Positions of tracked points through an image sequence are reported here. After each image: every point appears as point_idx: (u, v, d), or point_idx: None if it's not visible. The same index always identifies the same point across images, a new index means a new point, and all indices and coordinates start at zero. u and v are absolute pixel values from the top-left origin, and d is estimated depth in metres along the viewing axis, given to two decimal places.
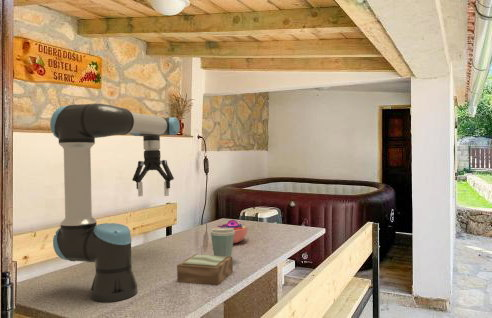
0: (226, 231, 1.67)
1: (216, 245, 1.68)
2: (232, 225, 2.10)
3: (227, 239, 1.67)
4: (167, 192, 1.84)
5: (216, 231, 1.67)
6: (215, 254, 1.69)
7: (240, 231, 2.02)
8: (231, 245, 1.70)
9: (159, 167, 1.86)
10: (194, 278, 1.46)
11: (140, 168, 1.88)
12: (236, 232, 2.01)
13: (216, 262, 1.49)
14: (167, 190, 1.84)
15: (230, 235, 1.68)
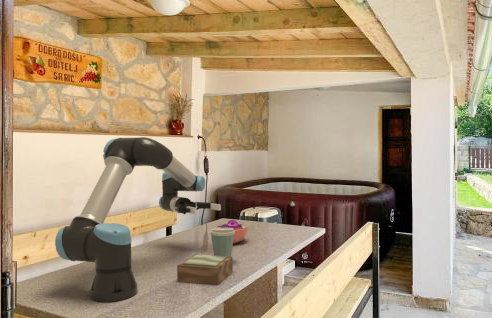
0: (226, 231, 1.67)
1: (216, 245, 1.68)
2: (232, 225, 2.10)
3: (227, 239, 1.67)
4: None
5: (216, 231, 1.67)
6: (215, 254, 1.69)
7: (240, 231, 2.02)
8: (231, 245, 1.70)
9: (196, 208, 1.90)
10: (194, 278, 1.46)
11: None
12: (236, 232, 2.01)
13: (216, 262, 1.49)
14: None
15: (230, 235, 1.68)
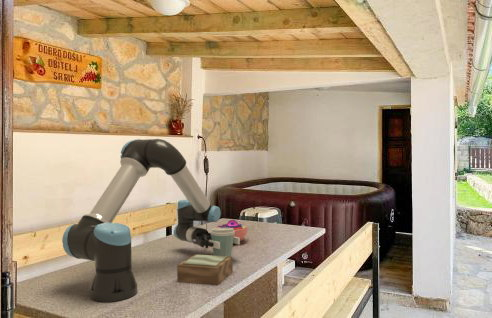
0: (226, 231, 1.67)
1: None
2: (232, 225, 2.10)
3: (227, 239, 1.67)
4: None
5: (216, 231, 1.67)
6: (215, 254, 1.69)
7: (240, 231, 2.02)
8: (231, 245, 1.69)
9: None
10: (194, 278, 1.46)
11: None
12: (236, 232, 2.01)
13: (216, 262, 1.49)
14: None
15: (230, 235, 1.68)
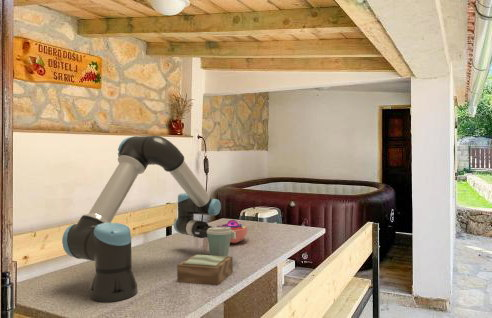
0: (225, 230, 1.64)
1: (215, 244, 1.63)
2: (232, 225, 2.10)
3: (226, 238, 1.64)
4: None
5: (215, 230, 1.63)
6: (213, 254, 1.64)
7: (240, 231, 2.02)
8: (229, 244, 1.67)
9: None
10: (194, 278, 1.46)
11: None
12: (236, 232, 2.01)
13: (216, 262, 1.49)
14: None
15: (229, 234, 1.65)
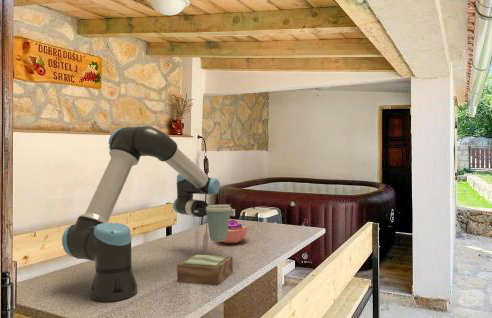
0: (224, 207, 1.63)
1: (214, 221, 1.63)
2: (232, 225, 2.10)
3: (225, 215, 1.64)
4: None
5: (214, 207, 1.63)
6: (212, 231, 1.64)
7: (240, 231, 2.02)
8: (228, 221, 1.66)
9: None
10: (194, 278, 1.46)
11: None
12: (236, 232, 2.01)
13: (216, 262, 1.49)
14: None
15: (228, 211, 1.64)
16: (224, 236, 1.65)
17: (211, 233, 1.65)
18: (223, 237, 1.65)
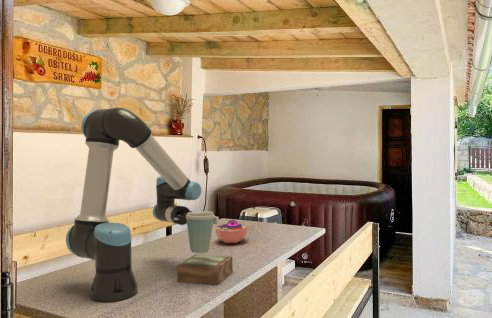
0: (206, 214, 1.45)
1: (195, 231, 1.45)
2: (232, 225, 2.10)
3: (207, 223, 1.46)
4: None
5: (195, 214, 1.45)
6: (192, 241, 1.46)
7: (240, 231, 2.02)
8: (211, 230, 1.48)
9: None
10: (194, 278, 1.46)
11: None
12: (236, 232, 2.01)
13: (216, 262, 1.49)
14: None
15: (210, 219, 1.46)
16: (206, 247, 1.47)
17: (191, 244, 1.46)
18: (205, 248, 1.46)
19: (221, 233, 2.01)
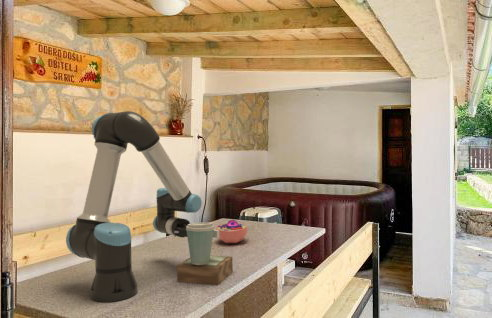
0: (206, 226, 1.45)
1: (195, 242, 1.45)
2: (232, 225, 2.10)
3: (208, 235, 1.46)
4: None
5: (195, 226, 1.45)
6: (193, 253, 1.46)
7: (240, 231, 2.02)
8: (211, 242, 1.48)
9: None
10: (194, 278, 1.46)
11: None
12: (236, 232, 2.01)
13: (216, 262, 1.49)
14: None
15: (211, 230, 1.46)
16: (206, 259, 1.47)
17: (192, 255, 1.47)
18: (205, 260, 1.47)
19: (221, 233, 2.01)
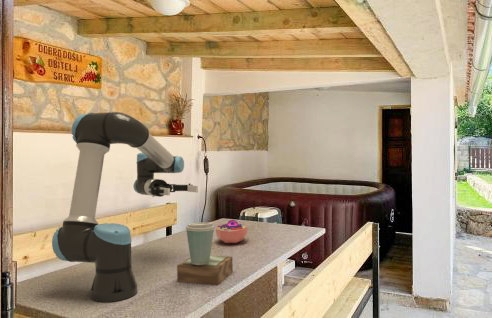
0: (206, 226, 1.45)
1: (195, 242, 1.45)
2: (232, 225, 2.10)
3: (208, 235, 1.46)
4: None
5: (195, 226, 1.45)
6: (193, 253, 1.46)
7: (240, 231, 2.02)
8: (211, 242, 1.48)
9: None
10: (194, 278, 1.46)
11: None
12: (236, 232, 2.01)
13: (216, 262, 1.49)
14: None
15: (211, 230, 1.46)
16: (206, 259, 1.47)
17: (192, 255, 1.47)
18: (205, 260, 1.47)
19: (221, 233, 2.01)
